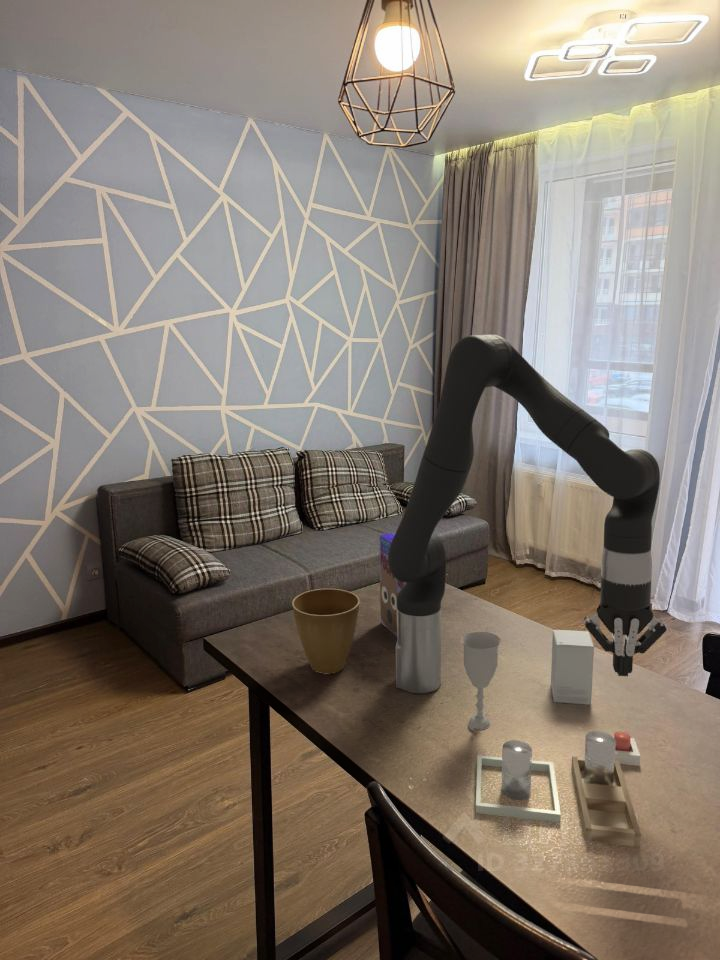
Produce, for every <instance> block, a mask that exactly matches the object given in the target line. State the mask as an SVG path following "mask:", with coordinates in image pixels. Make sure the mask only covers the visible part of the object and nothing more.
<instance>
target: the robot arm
mask: <svg viewBox="0 0 720 960" xmlns="http://www.w3.org/2000/svg"><path fill="white" fill-rule="evenodd" d="M445 369H446V370H445V375H444V378H443V385H442V390H441V393H440V399H439V403H438V407H437V410H436V414H435V417H434V419H433V422H432V423H433V424H432V426H431V430H430V434H429V436H428V441H427V442H426V445H425V449H424V451H423V454H422V457H421V461H420V464H419V466H418V469H417V474H416V478H415V480H414V484H413V486H412V490H411V492H410V496H409V499H408V500H407V504H406V508H405V510H404V513H403V516H402V518H401V520H400V523H399V525H398V526H397V529H396V531H395V532H394V533H395V536H394V538H393V540H392V542H391V545H390V548H389V552H388V565H389V569H390V571H391V573H392V575H393V576H394V577H395V578H396V579H397V580H399V581H402V582H406V584H405V586H404V587H403V588H402V589H401V590H400V592H399V593H398V595H397V601H396V602H397V636H396V644H395V688H396V689H402V690H404V691H406V692H408V693H412V694H413V693H414V694H428V693H432V692H435V691H437V690H438V689H439V688H440V687H441V684H442V600H443V598H444V596H445V592H446V576H447V574H446V573H447V553H446V549H445V545H444V543H443V540H442V539H441V537H440V536H439V535H438V534H437V533H436V532H434V531H435V530H436V527H437V526H438V524H439V522H440V521H441V520H442V519H443V517H444V516H445V514H447V512H448V511H449V510H450V509H451V507H452V506H453V504H454V503H455V502H456V500H457V499H458V498H459V496H460V494H461V492H462V491H463V489H464V486H465V484H466V482H467V479H468V476H469V474H470V471H471V467H472V464H473V460H474V453H475V450H474V449H475V447H474V446H475V445H474V435H473V421H474V418H475V413H476V411H477V408H478V405H479V402H480V400H481V398H482V395H483V394H484V391H485V389H486V388H489V387H490V388H492V387H494V388H496V389H498V390H500V391H502V392H503V393H504V394H505V393H506V394H507V395H509V396H510V397H511V398H513V399H514V400H515V401H517V402H518V403H519V404H520V405H521V406H522V407H523V408H524V410H525V411H526V412H527V413H528V415H529V416H530V418H531V419H532V421H533V422H534V424H535V425H536V426H537V428H538V429H539V431H541V433H542V434H543V435H544V436H545V437H546V438H547V439H549V440H550V441H551V443H553V444H554V445H555V446H557V447H558V448H560V449H561V450H562V451H563V452H565V453H566V454H567V455H568V456H569V457H571V458H572V459H574V461H576V462H577V463H578V465H579V466H580V468H581V469H582V470H583V471H584V472H585V474H586V475H587V476H588V477H589V478H590V480H591V481H592V482H593V483H594V484H595V485H596V486H597V487H598V488H599V489H600V490H601V491H603V492H604V493H606V494H607V495H609V496H611V497H612V498H613V499H612V505H611V507H610V510H609V511H608V512H607V514H606V516H605V519H604V525H603V527H604V528H603V547H602V548H603V550H602V555H601V562H600V563H601V565H600V595H599V596H600V598H599V599H600V600H599V601H600V603H599V604H598V606H597V608H596V613H594V614H593V615H591V616H585V617H584V618H583V622H584V625H585V628H586V630H588V632H589V634H590V635H591V637H593V638H594V639H595V641H596V642H597V643H598V644H599V645H600V646H601V648H602V649H603V650H604V651H605V652H610V653H612V667H613V670H614V672H615V673H617V676H618V677H629V674H632V672H633V665H634V663H633V662H634V655H636V654H645V653H646V652H647V651H648V650H649V649H650V648H651V647H652V646H653V645H654V644H655V643H656V642H657V641H658V640H659V639H660V638H661V637H662V636H663V635H664V634H665V633H666V632H667V627H666V625H665V623H664V621H663V620H662V619H658V618H656V617H655V616H654V612H653V611H652V609H651V597H652V595H651V594H652V576H653V572H652V571H653V559H652V558H653V557H652V538H653V537H652V534H653V527H652V523H653V517H654V512H655V509H656V504H657V500H658V494H659V489H660V488H659V487H660V482H661V481H660V480H661V478H660V477H661V476H660V475H661V472H660V467H659V464H658V463H659V462H658V461H657V459H656V458H655V457H654V456H653V454H651V452H648V451H647V450H644V449H641V448H640V449H639V448H638V449H637V448H634V449H628V450H626V451H625V450H623V449H622V448H620V447H619V446H618V444H616V443H614V442H613V441H612V439H611V438H610V431H609V430H608V428H607V427H606V426H605V425H603V424H602V423H601V421H598V419H596V418H595V417H594V416H592V415H590V414H589V413H588V412H586V411H585V409H583V408H581V407H580V406H578V405H577V404H576V403H575V402H573V401H572V400H571V399H569V398H568V397H567V396H565V395H564V394H563V393H561V391H560V390H558V389H556V388H555V387H554V386H553V385H552V384H551V383H550V382H549V381H548V380H547V379H545V377H544V376H542V374H540V373H539V372H538V371H537V370H536V369H535V368H534V367H533V366H532V365H531V364H530V363H529V362H528V361H527V360H526V359H525V357H523V355H522V354H521V353H520V352H519V351H518V350H517V349H516V348H515V347H514V345H512V344H511V343H510V342H509V341H508V340H507V339H506V338H504V337H503V336H502V335H501V336H500V335H498V334H473V335H467V336H465V337H463V338H460V339H459V340H458V341H457V342H456V343H455V344H454V346H453V347H452V350H451V352H450V355H449V357H448V361H447V365H446V368H445ZM600 621H601V623H602V624H603V625H604V627H605V628H606V629H607V630H608V632H609V633H611V636H612V641H611V640H609V638H608V637H607V636H606V635H605V634H604V633H603V631H602V630H601V623H600ZM646 627H647V628H648V629H646V630H645V631H644V633H643V634H642V635H640V637H638V635H639V634H641V632H642V631H643V630H644V629H645V628H646ZM623 637H624V638H623Z"/></svg>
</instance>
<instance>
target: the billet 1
mask: <svg viewBox="0 0 720 960" xmlns="http://www.w3.org/2000/svg"><path fill="white" fill-rule="evenodd" d="M501 752H502V754H501V755H502V756H501V757H502V767H501V791H502V794H503V795H504V796H505V797H507V798H509V799H512V800H515V801H523V800H526V799H528V798H529V797H530V796H531V793H532V792H531V790H532V770H531V765H532V760H533V758H532V757H533V749H532V747H531V746H530V744H528V743H526V742H525V741H523V740H517V739H515V740H513V739H512V740H508V741H505V742H504V743H503V744H502V751H501Z"/></svg>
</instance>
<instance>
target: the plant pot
mask: <svg viewBox="0 0 720 960" xmlns="http://www.w3.org/2000/svg"><path fill="white" fill-rule="evenodd" d="M360 602H361V601H360V597H359V596H358V595H356V594H355V593H353V592H351V591H348V590H344V589H339V588H319V589H318V588H317V589H312V590H307V591H304V592H301V593H300V594H298V595H297V596H295V597H294V598H293V600H292V602H291V605H292V611H293V616H294V620H295V625H296V629H297V632H298V633H297V634H298V636H299V638H300V642H301V646H302V648H303V651H304V654H305V656H306V659H307V661H308V663H309V666H310V667H312V668H313V669H314V670H315V671H318V672H322V673H333V672H337V673H339V672H341V671H342V670H343V669H344V668H345V664H346V662H347V659H348V657H349V654H350V651H351V647H352V645H353V641H354V638H355V637H354V636H355V632H356V628H357V622H358V615H359V609H360ZM312 668H311V669H312ZM313 669H312V670H313ZM340 670H341V671H340ZM315 671H314V672H315ZM338 671H339V672H338Z"/></svg>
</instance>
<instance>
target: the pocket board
mask: <svg viewBox="0 0 720 960" xmlns="http://www.w3.org/2000/svg"><path fill="white" fill-rule="evenodd" d="M584 760H585V756H573V755H572V756H571V771H572V777H573V782H574V787H575V788H574V789H575V793H576V798H577V804H578V809H579V813H580V814H579V815H580V820H581V825H582V830H583V831H582V832H583V837H584V841H587V842H596V843H603V844H610V845H611V844H612V845H622V846H629V847H637V848H640V847H641V840H642V839H641V838H642V833H641V829H640V827H639V824H638V819H637V816H636V814H635V810H634V806H633V803H632V800H631V797H630V794H629V790H628V786H627V782H626V780H625V776H624V773H623V770H622V769H623V768H622V766H621V764H620V763H619V761H616V760H615V764H614V781H613V786H609V785H599V784H589V783H584V782H583V780H584Z"/></svg>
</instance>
